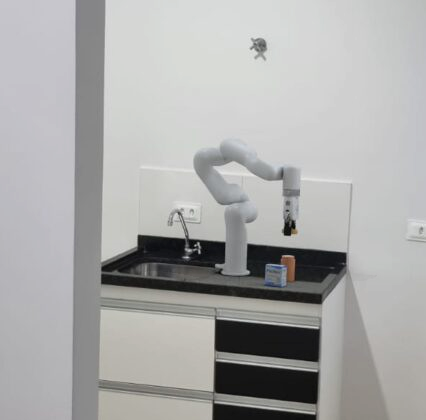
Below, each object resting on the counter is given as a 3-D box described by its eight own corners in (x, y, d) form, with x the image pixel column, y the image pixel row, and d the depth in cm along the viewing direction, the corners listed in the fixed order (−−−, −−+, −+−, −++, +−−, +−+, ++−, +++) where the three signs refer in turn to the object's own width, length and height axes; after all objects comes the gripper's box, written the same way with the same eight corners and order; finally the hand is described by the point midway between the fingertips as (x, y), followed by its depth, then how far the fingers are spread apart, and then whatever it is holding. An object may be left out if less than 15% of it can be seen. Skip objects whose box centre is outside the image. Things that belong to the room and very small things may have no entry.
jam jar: (279, 281, 369) (280, 256, 368) (280, 278, 375) (281, 254, 374) (293, 281, 369) (294, 257, 368) (295, 279, 375) (295, 255, 374)
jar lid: (300, 233, 370) (300, 229, 370) (291, 234, 365) (291, 230, 365) (287, 232, 374) (287, 228, 374) (278, 232, 368) (279, 228, 368)
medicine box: (264, 285, 358) (265, 264, 357) (269, 283, 362) (270, 263, 361) (281, 287, 354) (282, 266, 354) (286, 285, 358) (287, 265, 358)
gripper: (294, 195, 358) (292, 237, 360) (304, 192, 375) (302, 233, 377) (277, 194, 360) (275, 236, 362) (287, 191, 377) (286, 232, 379)
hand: (289, 234), depth 369 cm, fingers closed on jar lid, 6 cm apart
